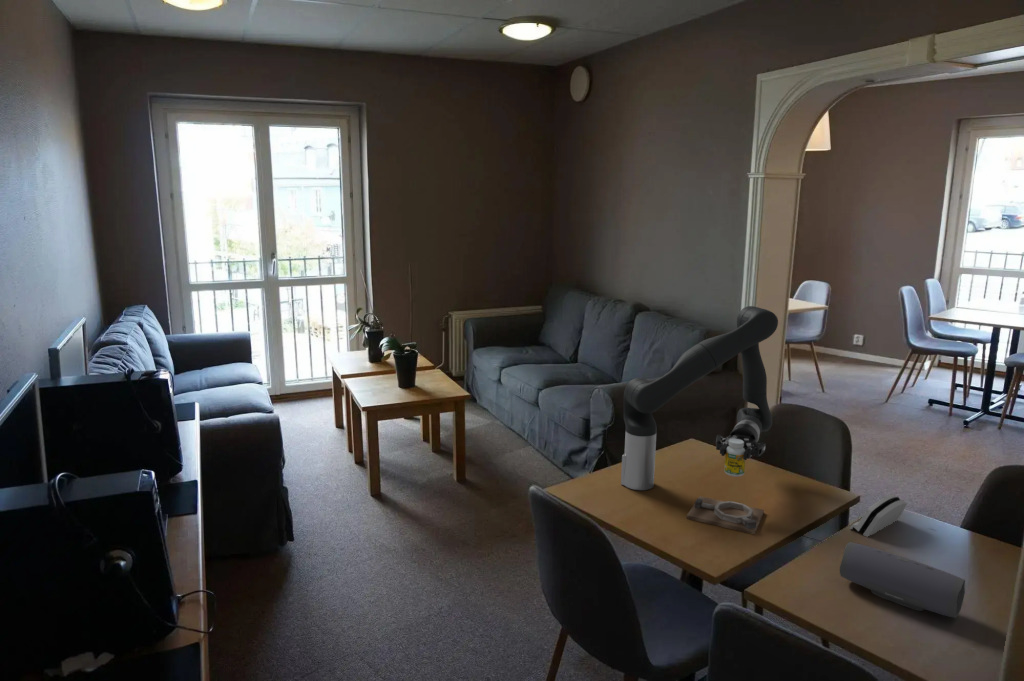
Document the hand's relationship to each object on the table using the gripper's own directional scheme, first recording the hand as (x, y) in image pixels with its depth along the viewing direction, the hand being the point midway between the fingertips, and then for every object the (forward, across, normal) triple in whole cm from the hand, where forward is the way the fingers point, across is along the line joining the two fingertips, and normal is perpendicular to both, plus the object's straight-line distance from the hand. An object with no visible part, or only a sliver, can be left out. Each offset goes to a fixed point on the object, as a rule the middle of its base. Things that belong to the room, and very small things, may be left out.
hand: (734, 454), depth 187 cm
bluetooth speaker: (+24, +41, +18) cm, 51 cm away
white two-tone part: (-12, +37, +18) cm, 43 cm away
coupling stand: (+2, -1, +18) cm, 18 cm away
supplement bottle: (-3, 0, +7) cm, 7 cm away
